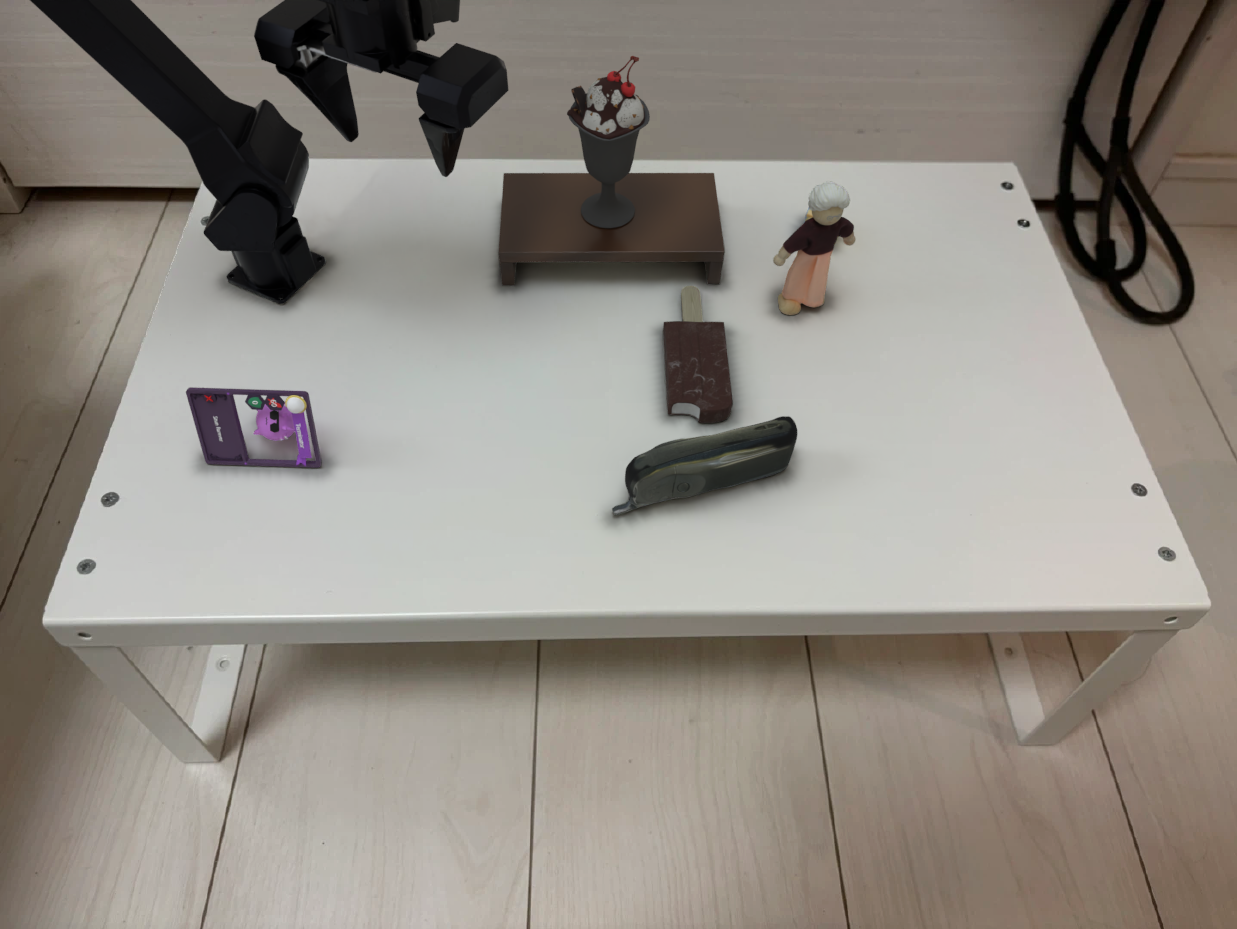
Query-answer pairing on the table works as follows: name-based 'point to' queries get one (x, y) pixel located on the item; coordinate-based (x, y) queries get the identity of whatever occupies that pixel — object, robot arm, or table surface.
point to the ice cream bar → (696, 364)
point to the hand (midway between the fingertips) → (399, 156)
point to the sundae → (608, 142)
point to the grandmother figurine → (814, 248)
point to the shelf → (658, 232)
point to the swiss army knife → (709, 463)
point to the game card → (273, 422)
